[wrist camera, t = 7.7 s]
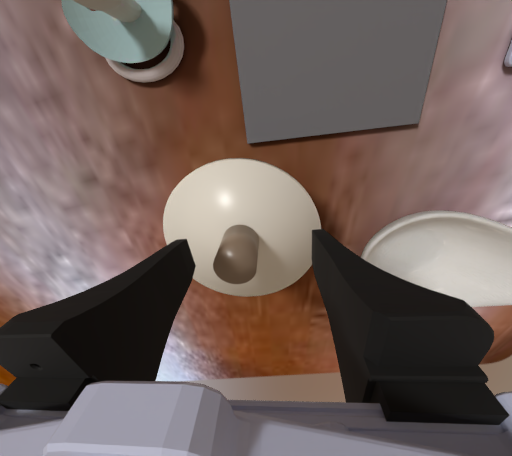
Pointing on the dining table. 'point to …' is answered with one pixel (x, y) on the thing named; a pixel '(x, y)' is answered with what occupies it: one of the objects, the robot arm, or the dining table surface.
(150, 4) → the pacifier
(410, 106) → the mat
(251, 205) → the lid
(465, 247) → the spoon rest
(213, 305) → the dining table surface
